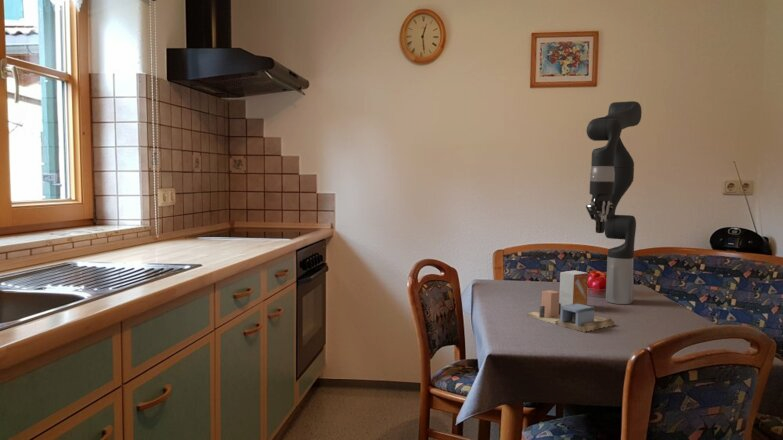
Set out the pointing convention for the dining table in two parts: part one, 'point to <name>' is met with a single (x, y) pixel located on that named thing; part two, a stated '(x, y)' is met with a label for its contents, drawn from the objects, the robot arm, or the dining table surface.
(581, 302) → the small box
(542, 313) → the pin seat
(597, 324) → the base
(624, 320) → the dining table surface
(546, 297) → the block
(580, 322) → the cover
